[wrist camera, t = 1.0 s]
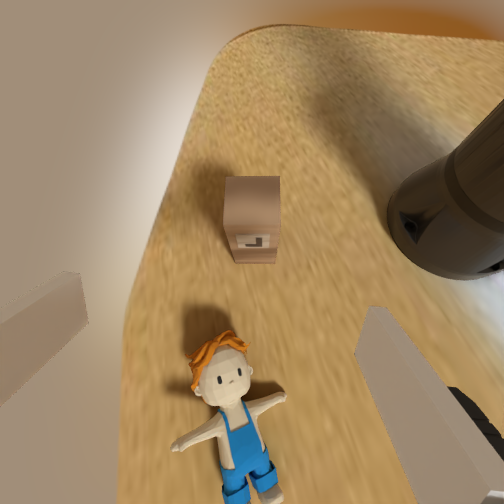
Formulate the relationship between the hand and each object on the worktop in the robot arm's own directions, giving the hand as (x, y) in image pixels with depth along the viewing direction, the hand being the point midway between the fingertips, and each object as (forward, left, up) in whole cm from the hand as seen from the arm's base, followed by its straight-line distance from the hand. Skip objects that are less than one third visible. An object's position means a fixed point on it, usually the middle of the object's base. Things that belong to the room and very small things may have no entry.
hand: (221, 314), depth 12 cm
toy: (-3, +7, -19) cm, 21 cm away
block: (+5, -10, -19) cm, 22 cm away
